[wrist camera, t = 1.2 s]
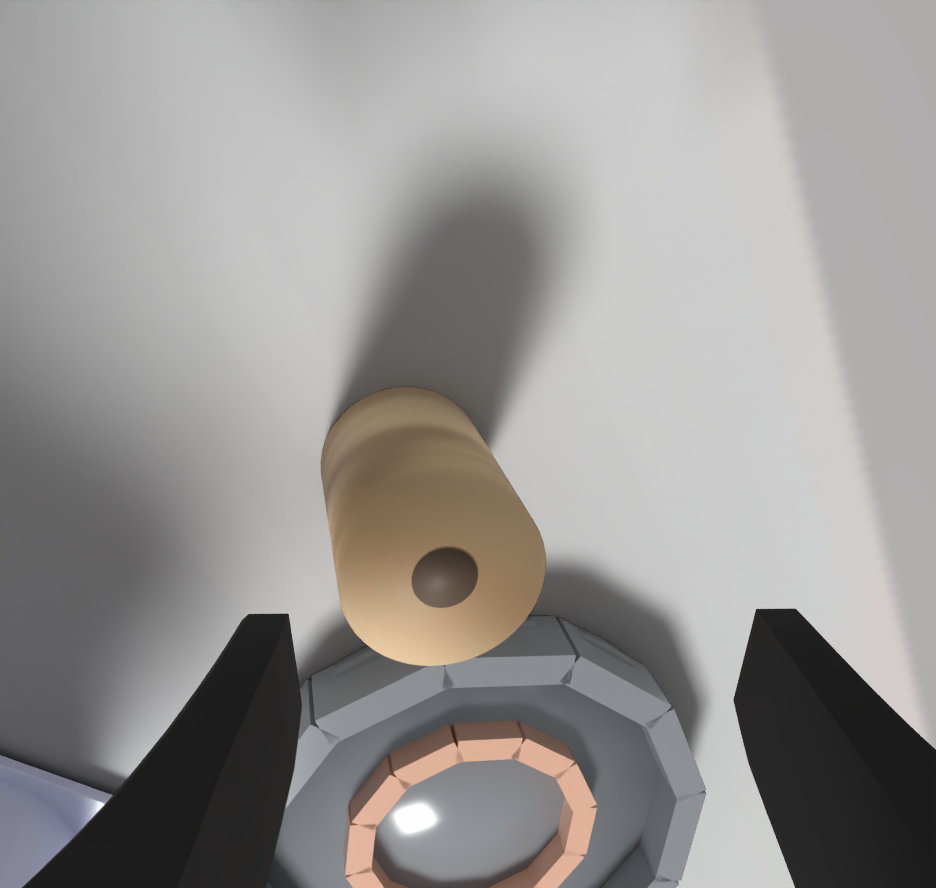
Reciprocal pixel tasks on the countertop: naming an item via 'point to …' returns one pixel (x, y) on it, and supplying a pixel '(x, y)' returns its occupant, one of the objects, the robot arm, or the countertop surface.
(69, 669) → the countertop surface
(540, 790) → the round tray
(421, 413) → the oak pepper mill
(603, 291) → the countertop surface
